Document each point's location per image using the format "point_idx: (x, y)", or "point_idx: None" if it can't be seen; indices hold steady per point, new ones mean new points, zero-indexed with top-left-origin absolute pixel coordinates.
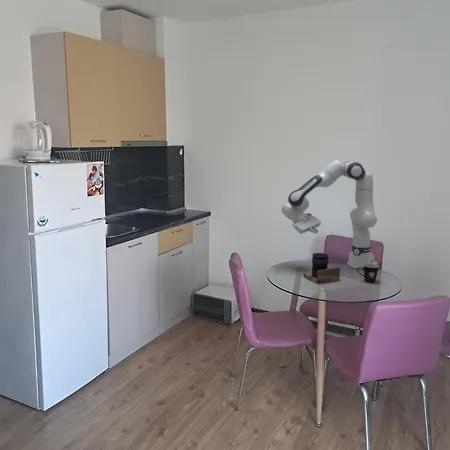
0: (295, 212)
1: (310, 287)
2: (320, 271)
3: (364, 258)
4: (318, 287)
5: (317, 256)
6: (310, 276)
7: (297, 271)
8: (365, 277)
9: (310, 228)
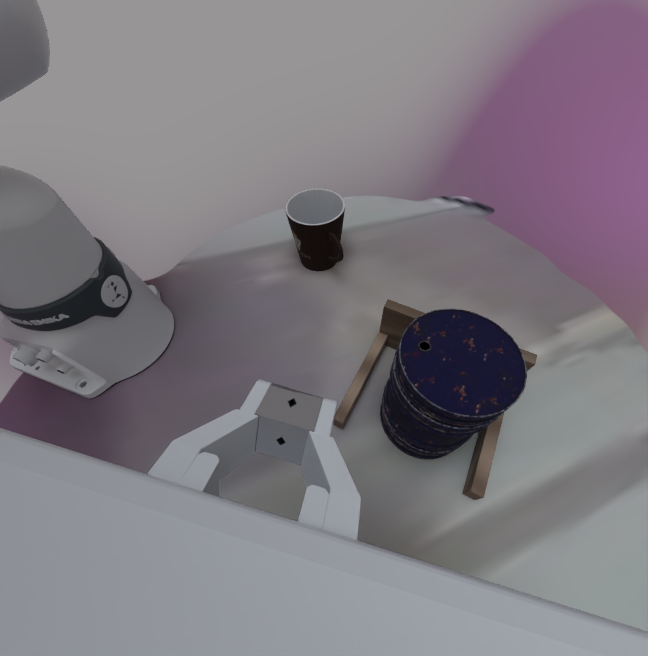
0: None
1: (576, 394)
2: (522, 351)
3: (137, 283)
4: (541, 366)
5: (511, 360)
6: (498, 434)
7: None
8: (335, 252)
9: (353, 516)
